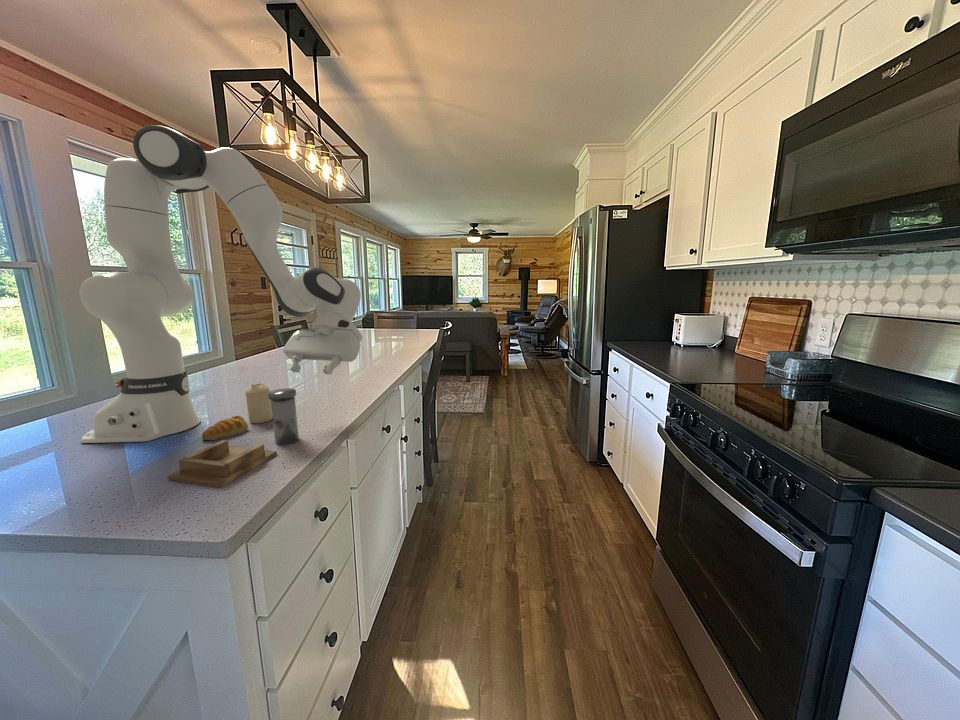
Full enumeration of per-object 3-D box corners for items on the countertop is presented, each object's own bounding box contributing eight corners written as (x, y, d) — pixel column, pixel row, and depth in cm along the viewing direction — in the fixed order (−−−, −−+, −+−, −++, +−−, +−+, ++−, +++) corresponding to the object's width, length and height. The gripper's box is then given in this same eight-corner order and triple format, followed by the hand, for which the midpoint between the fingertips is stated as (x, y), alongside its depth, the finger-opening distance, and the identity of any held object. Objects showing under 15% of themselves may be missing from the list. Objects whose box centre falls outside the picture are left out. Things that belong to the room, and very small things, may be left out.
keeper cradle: (220, 487, 69) (218, 470, 68) (168, 480, 72) (165, 463, 71) (277, 454, 82) (275, 440, 82) (231, 449, 85) (229, 435, 84)
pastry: (214, 444, 88) (212, 429, 87) (195, 440, 90) (192, 425, 90) (251, 430, 97) (249, 416, 96) (233, 426, 99) (231, 413, 98)
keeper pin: (270, 446, 86) (264, 396, 84) (276, 437, 92) (271, 389, 89) (298, 444, 88) (293, 394, 85) (302, 434, 93) (298, 387, 91)
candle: (262, 424, 100) (257, 387, 98) (244, 422, 101) (239, 386, 99) (277, 417, 105) (273, 382, 103) (260, 415, 106) (255, 381, 104)
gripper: (291, 321, 104) (268, 363, 96) (358, 323, 99) (339, 367, 92) (303, 335, 109) (282, 376, 101) (368, 337, 104) (351, 380, 97)
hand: (310, 372), depth 97 cm, fingers open, 8 cm apart
